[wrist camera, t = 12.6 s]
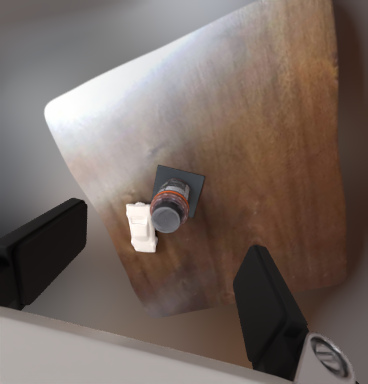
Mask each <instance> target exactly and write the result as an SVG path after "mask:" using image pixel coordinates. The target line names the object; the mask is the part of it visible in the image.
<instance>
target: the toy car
mask: <svg viewBox="0 0 368 384" xmlns="http://www.w3.org/2000/svg"><path fill="white" fill-rule="evenodd" d="M126 208H127V217H128V219H129V225H130V230H131V236H132V240H131V243H132V245H133V246H134V248H135V250H136V251H141V252H155V250H156V245H157V242H158V238H157V237H156V236H155V227H154V226H153V224H152V221H151V215H150V205H145V203H141V202H140V203H139V202H138V203H136V204H135V205H134V204H127V205H126Z"/></svg>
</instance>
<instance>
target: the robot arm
mask: <svg viewBox="0 0 368 384" xmlns="http://www.w3.org/2000/svg"><path fill="white" fill-rule="evenodd" d="M86 232H87V204H85V202H84V201H83V200H80V199H76V198H71V199H69V200H67V201H65V202H64V203H62V204H60V205H58V206H57V207H55V208H53V209H51V210H49V211H48V212H46V213H44V214H42V215H41V216H39V217H37V218H36V219H34V220H32V221H30V222H28V223H26V224H25V225H23V226H21V227H20V228H18V229H16V230H14V231H12V232H11V233H9V234H7V235H5V236H4V237H2V238H0V384H359V383H358V382H357V381H356V380H355V374H354V370H353V368H352V365H351V363H350V361H349V360H348V359H347V357H346V356H345V354H344V353H343V352H342V351H341V350H340V348H338V346H337V345H336V344H334V343H333V342H332V341H331V340H330V339H328V338H327V337H325V336H323V335H322V334H320V333H317V332H309V330H308V328H307V326H306V325H308V324H307V322H306V320H305V318H304V316H303V315H302V313H301V311H300V309H299V307H298V305H297V303H296V301H295V300H294V298H293V296H292V294H291V292H290V290H289V289H288V287H287V285H286V283H285V281H284V279H283V277H282V276H281V274H280V272H279V270H278V268H277V266H276V265H275V263H274V261H273V259H272V257H271V255H270V254H269V252H268V250H267V248H266V247H263V246H259V245H253V246H250V248H249V250H248V252H247V254H246V256H245V258H244V260H243V262H242V264H241V266H240V268H239V270H238V272H237V275H236V277H235V279H234V281H233V289H234V294H235V299H236V303H237V308H238V313H239V318H240V323H241V327H242V332H243V337H244V342H245V347H246V352H247V357H248V359H249V361H250V362H252V366H253V370H252V369H248V368H245V367H241V366H238V365H234V364H230V363H226V362H222V361H219V360H215V359H211V358H207V357H203V356H199V355H196V354H192V353H187V352H184V351H180V350H176V349H172V348H168V347H164V346H160V345H156V344H152V343H148V342H145V341H141V340H137V339H132V338H129V337H125V336H121V335H116V334H113V333H109V332H105V331H101V330H97V329H93V328H89V327H85V326H81V325H76V324H72V323H69V322H64V321H60V320H56V319H52V318H48V317H44V316H40V315H36V314H32V313H28V312H24V311H21V310H22V309H23V308H24V307H25V306H26V305H30V304H31V303H32V302H33V301H34V300H35V299H36V298H37V297H38V296H39V295H40V294H41V293H42V292H43V291H44V290H45V289H46V288H47V286H49V285H50V284H51V282H52V281H53V280H54V279H55V278H56V277H57V276H58V275H59V274H60V273H61V272H62V271H63V270H64V269H65V268H66V267H67V265H68V264H69V263H70V262H71V261H72V260H73V259H74V258H75V257H76V256H77V255H78V254H79V253H80V252H81V251H82V250H83V249H84V247H85V245H86V235H87V233H86Z"/></svg>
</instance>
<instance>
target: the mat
mask: <svg viewBox="0 0 368 384" xmlns="http://www.w3.org/2000/svg"><path fill="white" fill-rule="evenodd" d="M174 178H175V179H181V180H183V181H184V182H186V183H187V184H188V186H189V188H190V190H191V199H190V206H189V214H188V217H192V218H193V216H194V213H195V209H196V206H197V202H198V199H199V195H200V192H201V188H202V185H203V181H204V178H205V176H201V175H197V174H193V173H189V172H185V171H181V170H177V169H173V168H169V167H165V166H161V165H158V167H157V173H156V179H155V184H154V190H153V195H152V200H153V199H154V197H155V195H156V194H157V192H158V191H159V189H160V188H161V186H162V185H163V184H164V183H165V182H166V181H168V180H170V179H174ZM151 202H152V201H151Z"/></svg>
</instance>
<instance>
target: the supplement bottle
mask: <svg viewBox="0 0 368 384" xmlns="http://www.w3.org/2000/svg"><path fill="white" fill-rule="evenodd" d="M190 199H191V190H190V188H189V186H188V184H187V183H186V182H184V181H183V180H181V179H175V178H174V179H170V180H168V181H166V182H165V183H164V184H163V185H162V186H161V188H160V189H159V191H158V192H157V194H156V195H155V197H154V199H153V200H152V202H151V205H150V215H151V221H152V224H153V226H154V227H155V228H156V229H157V230H158V231H160V232H163V233H171V232H173V231H175V230H176V229H177V228H178V227H179V226H181V225H183V224H184V223H185V221H186V220H187V218H188V214H189V206H190Z"/></svg>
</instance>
